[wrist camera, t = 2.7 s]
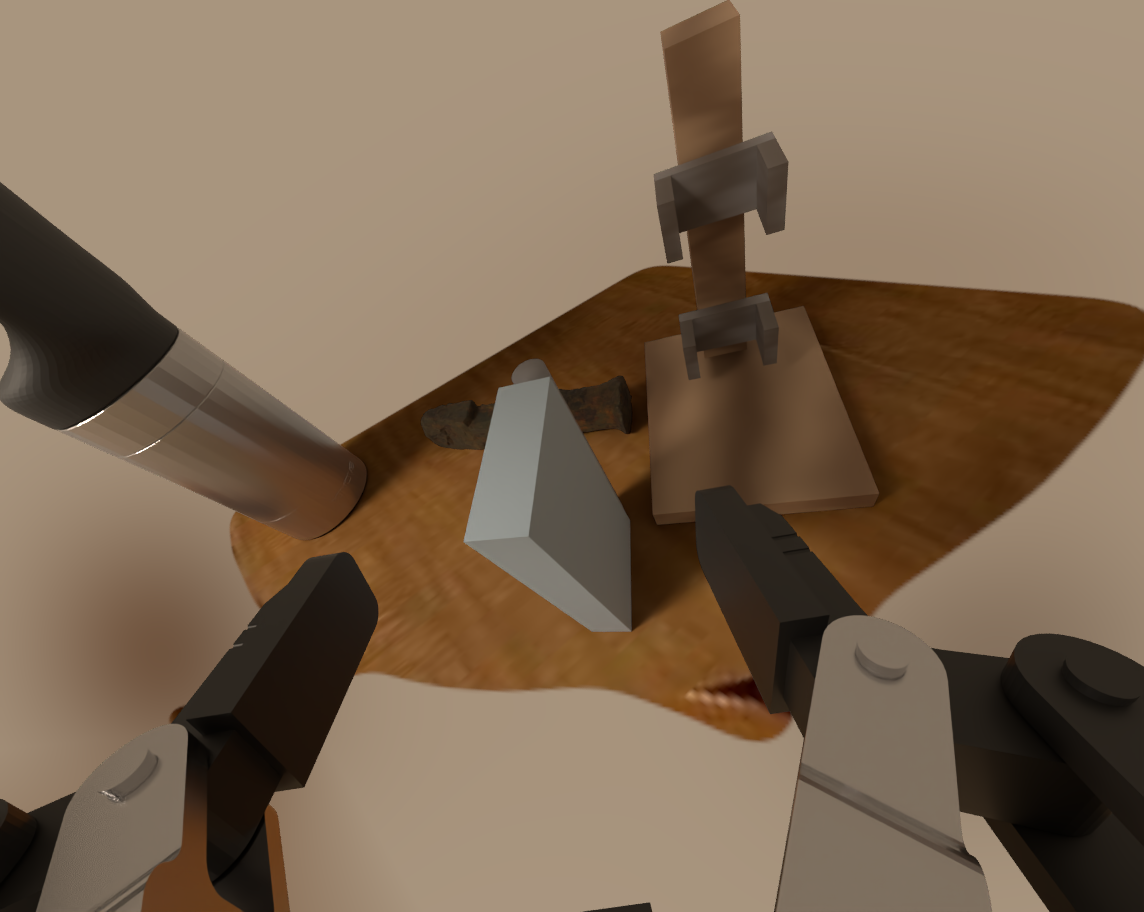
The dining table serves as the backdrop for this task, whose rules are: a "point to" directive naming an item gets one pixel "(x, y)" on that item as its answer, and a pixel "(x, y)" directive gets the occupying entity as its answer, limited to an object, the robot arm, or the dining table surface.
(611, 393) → the hand tool
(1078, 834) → the robot arm
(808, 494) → the hinge frame
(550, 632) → the dining table surface
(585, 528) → the cabinet door
